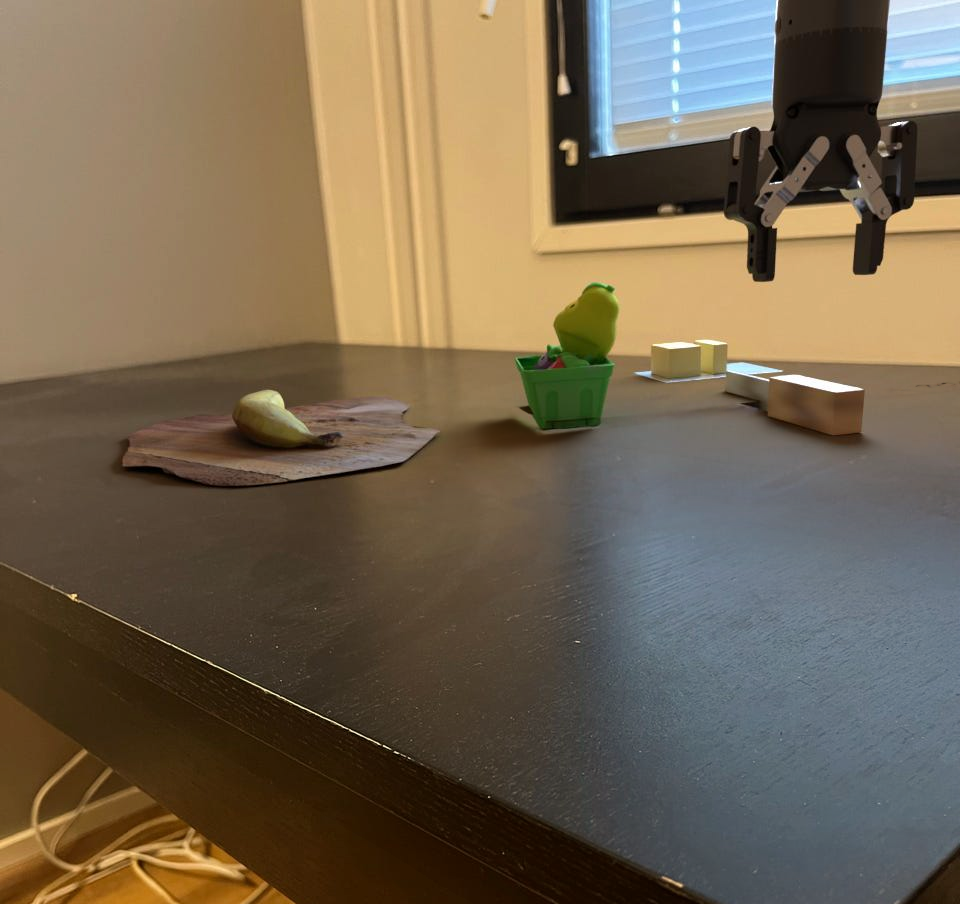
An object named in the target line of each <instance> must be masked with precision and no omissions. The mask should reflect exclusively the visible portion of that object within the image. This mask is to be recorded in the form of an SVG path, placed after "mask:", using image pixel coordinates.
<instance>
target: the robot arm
mask: <svg viewBox="0 0 960 904" xmlns="http://www.w3.org/2000/svg"><path fill="white" fill-rule="evenodd" d="M890 5H891V0H776V7H775V8H776V9H775V21H774V26H773V30H774V47H773V48H774V50H773V51H774V52H773V69H772V94H771V109H772V116H773V117H772V118H773V119H772V123H771V127H770V129H769V130H760V128H758V127H757V126H750V127H746V128H742V129H738V130H735V131H733V132H732V133H731V135H730V136H729V144H728V145H729V146H728V154H727V155H728V156H727V165H726V166H727V167H726V179H725V191H724V192H725V193H724V202H723V203H724V206H723V216H724V218H725V219H726V220H728V221H735V222H737V223H740V224H741V225H742V224H743V225H744V226H745V227H746V230H747V250H746V252H747V253H746V258H747V259H746V269H747V272H748V274H749V275H752V277H751V278H752V281H753V282H754V283H767V282H768V283H770V282H773V281H774V279H775V277H776V260H777V259H776V258H777V241H778V227H773V225H774V224H775V223H776V221H777V220H778V219H779V217H780V215H781V214H782V212H783V211H784V210H785V208H786V207H787V205H788V204H789V203H790V202H791V201H793V200H794V199H795V197H797V195H798V193H807V192H814V191H821V192H827V191H828V192H829V191H838V190H839V191H840V193H841V195H842V196H843V198H845V199H846V200H848V201H849V202H850V204H851V205H852V207H853V209H854V210H855V213H856V214H857V215H858V218H859V219H860V221H861V222H859V223H855V233H854V234H855V235H854V246H853V248H854V249H853V257H852V259H853V260H852V261H853V262H852V273H853V274H854V276H869V275H875V274H876V273H877V270H878V267H879V266H880V267H881V265H882V262H883V260H884V253H885V251H884V250H885V239H886V230H887V223H888V220H889V219H890V218H891V217H892V216H893V215H895V214H897V213H899V212H901V211H906V210H909V209H911V208H912V207H913V205H914V202H915V192H916V191H915V188H916V172H917V171H916V167H917V150H918V149H917V148H918V147H917V146H918V124H917V123H916V122H915V121H914V120H908V121H901V122H896V123H893V124H888V125H880V122H879V118H878V107H879V105H880V102H881V99H882V97H883V89H884V78H885V77H884V76H885V65H886V53H887V43H888V29H889V17H890V15H889V14H890ZM876 148H877V153H879V155H880V157H881V177H880V175H879V174H878V171H877V170H876V168H875V166H874V164H873V163H872V161H871V158H870V157H871V156H872V154H873V153H874V152H875V150H876ZM766 151H767V152H768V153H769V156H770V157H771V159H772V161H773V162H774V164H775V167H774V169H773V170H772V172H771V173H770V175H769V176H768V178H767V179H766V180H765V182H764V183H763V185H762V187H761V188H760V189H759V196H758V197H757V198H756V193H757V181H758V170H759V162H761V161H762V160H763V159H764V157H765V154H766Z"/></svg>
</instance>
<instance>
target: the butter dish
mask: <svg viewBox="0 0 960 904" xmlns="http://www.w3.org/2000/svg"><path fill="white" fill-rule="evenodd" d="M727 371H734V372H738V373H742V374H747V375H761V374H768V373H770V374H771V373H781V372H783V370H781V369H777V368H772V367H766V366H763V365H758V364H752V363H747V362H743V361H742V362H741V361H740V362H731V363H727ZM633 374H635V375H637V376H642V377H644V378H647V379H648V378H649V379H651V380H656V381H658V382H663V383H665V384H667V383H668V384H669V383H677V382H678V383H679V382H688V381H697V380H708V379H719V378H726V373H724V374H710V373H706V372H702V371H701V376H693V377H683V378H672V379H669V378H665V377H662V376H658V375H655V374H651V370H648V371H637V372H633Z"/></svg>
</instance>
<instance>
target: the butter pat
mask: <svg viewBox="0 0 960 904" xmlns="http://www.w3.org/2000/svg"><path fill="white" fill-rule="evenodd" d="M693 344H694V345H699V346H701V371H702V372H706V373H710V374H724V373H726V371H727V364H728V346H729V344H728V343H726V342H721V341H716V340H712V339H711V340H710V339H700V340H699V339H698V340H694V341H693Z"/></svg>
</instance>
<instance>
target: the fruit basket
mask: <svg viewBox="0 0 960 904" xmlns="http://www.w3.org/2000/svg"><path fill="white" fill-rule="evenodd" d="M614 291H615V287H614V286H612V285H610V284H608V285H607V284H605V283H603V282H600V281H594V282H591V283H590V284H588V285H587V286H586V287H585V288H584V289H583V290H582V292H581V295H580V296H579V297H578V298H577V299H576V300H574V301H573V302H571V303H569V304H568V305H566V306H565V307H564V309H563V310H561V311H560V312H559V313H557V315H556V316H555V319H554V320H553V324H552V326H553V329H554V332H555V334H556V337H557V339H558V342H559V345H552V344H551V343H549V344H547V345H546V352H545V353H543V354H537V355H528V356H520V357H515V358H514V362H515V365H516V369H517V370H518V372H519V374H520V377H521V381H522V385H523V388H524V391H525V397H526V400H527V404H528V406H529V408H530V410H531V412H532V413H533V414H532V418H533V419H534V421H535V423H536V424H537V426H538V428H539V429H540V430H548V429H561V428H576V427H586V426H599V425H600V424H601V420H602V415H603V412H604V411H603V410H604V407H605V401H606V398H607V392H608V388H609V384H610V379H611V377H612V376H613V373H614V368H615V363H614V362H612V361H611V360H610V359H609V358H607V356H608V355H609V353H610V352H611V350H612V349H613V347H614V345H615V342H616V340H617V339H616V338H617V326H618V325H617V324H618V323H617V322H618V318H619V314H620V309H621V306H620V303H619V301H618V298H617V297H616V295H615V294H614ZM552 421H553V422H552ZM554 421H555V422H554ZM556 421H557V422H556Z"/></svg>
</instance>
